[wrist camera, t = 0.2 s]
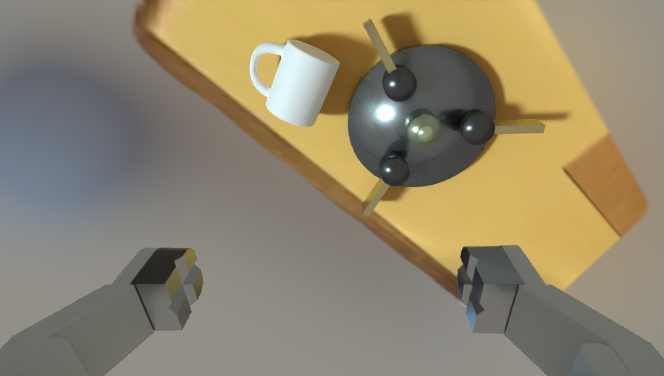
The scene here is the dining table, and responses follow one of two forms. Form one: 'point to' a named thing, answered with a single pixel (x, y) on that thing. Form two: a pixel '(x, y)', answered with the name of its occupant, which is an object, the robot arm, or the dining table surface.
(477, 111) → the knob
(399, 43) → the dining table surface
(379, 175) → the tribrach plate
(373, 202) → the knob
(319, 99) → the mug
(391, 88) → the knob
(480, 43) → the dining table surface
